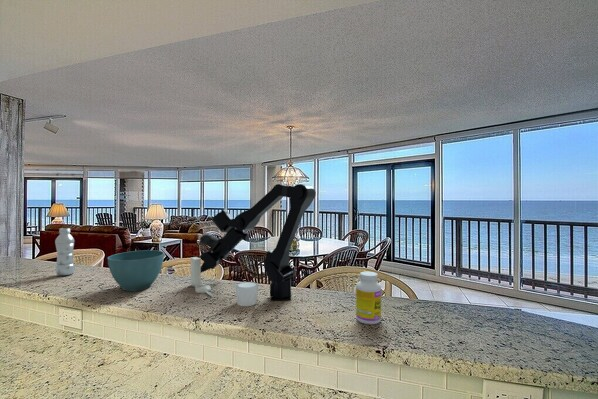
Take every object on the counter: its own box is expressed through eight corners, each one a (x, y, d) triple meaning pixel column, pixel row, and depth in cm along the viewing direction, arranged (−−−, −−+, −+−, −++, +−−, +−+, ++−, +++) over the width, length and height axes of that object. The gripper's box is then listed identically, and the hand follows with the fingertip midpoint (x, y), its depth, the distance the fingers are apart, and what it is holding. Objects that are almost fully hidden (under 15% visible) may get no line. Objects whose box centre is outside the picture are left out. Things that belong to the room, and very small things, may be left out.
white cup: (246, 313, 86) (246, 289, 85) (230, 308, 90) (230, 285, 90) (262, 306, 91) (263, 284, 91) (247, 301, 95) (247, 280, 95)
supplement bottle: (376, 327, 77) (376, 278, 77) (352, 321, 80) (352, 274, 80) (384, 318, 82) (384, 272, 82) (361, 313, 86) (361, 269, 86)
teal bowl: (132, 299, 98) (132, 261, 97) (95, 292, 104) (95, 257, 104) (174, 283, 114) (174, 252, 114) (140, 278, 121) (140, 248, 121)
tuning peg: (200, 283, 110) (200, 256, 110) (219, 295, 97) (219, 264, 97) (186, 285, 107) (186, 258, 107) (204, 298, 94) (204, 267, 93)
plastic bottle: (67, 277, 123) (66, 229, 123) (51, 277, 123) (50, 229, 123) (79, 273, 130) (78, 227, 129) (63, 273, 130) (63, 227, 129)
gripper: (220, 223, 117) (193, 251, 117) (205, 228, 98) (172, 262, 98) (240, 243, 117) (213, 271, 117) (229, 252, 98) (196, 285, 98)
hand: (199, 271), depth 108 cm, fingers closed
